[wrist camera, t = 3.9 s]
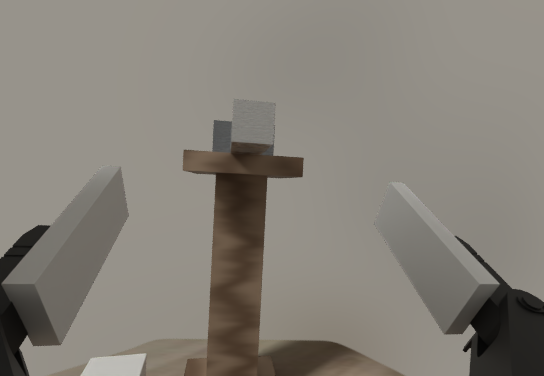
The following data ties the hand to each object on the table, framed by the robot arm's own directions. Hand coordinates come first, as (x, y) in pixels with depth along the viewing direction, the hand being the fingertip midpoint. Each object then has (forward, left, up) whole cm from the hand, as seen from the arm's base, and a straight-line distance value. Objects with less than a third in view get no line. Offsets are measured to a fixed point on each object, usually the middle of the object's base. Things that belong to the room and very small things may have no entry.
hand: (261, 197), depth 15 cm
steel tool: (0, +16, +4) cm, 16 cm away
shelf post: (0, +21, -26) cm, 34 cm away
